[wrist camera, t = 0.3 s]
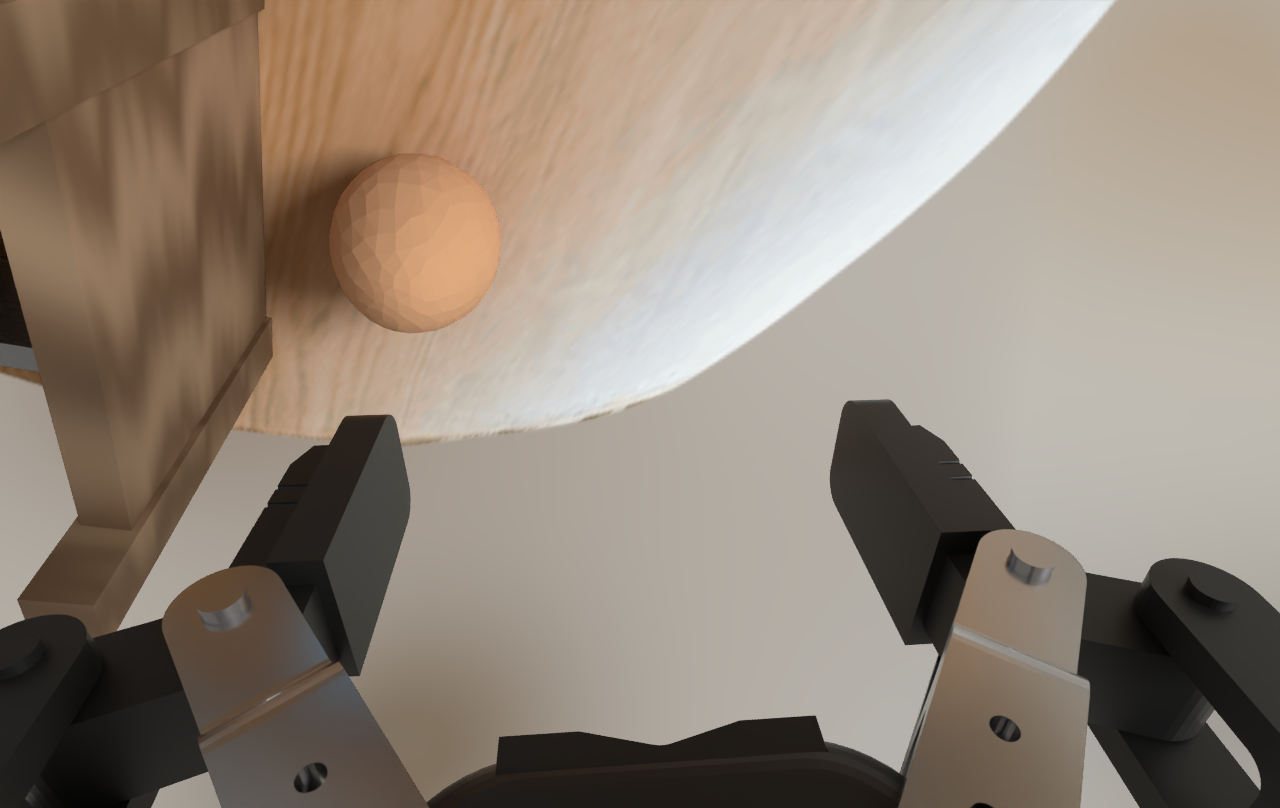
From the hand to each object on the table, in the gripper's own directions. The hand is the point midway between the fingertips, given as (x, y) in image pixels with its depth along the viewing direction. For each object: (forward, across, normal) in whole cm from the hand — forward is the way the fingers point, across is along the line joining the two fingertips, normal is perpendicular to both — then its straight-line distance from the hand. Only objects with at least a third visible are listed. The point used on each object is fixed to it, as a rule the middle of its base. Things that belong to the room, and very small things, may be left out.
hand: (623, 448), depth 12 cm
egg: (+22, +7, +1) cm, 24 cm away
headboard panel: (+22, +15, 0) cm, 27 cm away
